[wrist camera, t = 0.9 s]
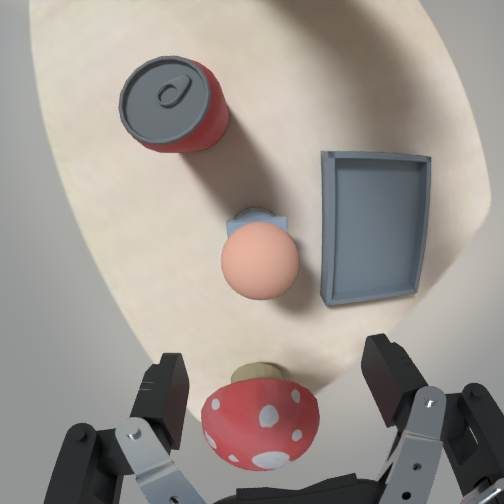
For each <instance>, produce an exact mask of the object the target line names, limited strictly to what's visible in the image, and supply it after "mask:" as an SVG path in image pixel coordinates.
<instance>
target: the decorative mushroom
mask: <svg viewBox="0 0 504 504" xmlns="http://www.w3.org/2000/svg"><path fill="white" fill-rule="evenodd" d="M201 419H202V427H203V432H204V436H205V438H206V440H207V442H208V443H209V445H210V446H211V447H212V449H213V450H214V451H215V452H216V454H217V455H219V456H220V457H221V458H222V459H223V460H225V461H227V462H228V463H230V464H232V465H234V466H236V467H239V468H242V469H246V470H251V471H268V470H274V469H278V468H281V467H284V466H286V465H287V464H290V463H292V462H294V461H295V460H296V459H298V458H299V457H300V456H301V455H302V454H303V453H304V452H306V450H307V449H308V448H309V447H310V445H311V444H312V442H313V440H314V437H315V435H316V433H317V431H318V427H319V419H320V416H319V409H318V403H317V399H316V398H315V397H314V396H313V395H312V393H311V392H310V391H309V390H308V389H306V388H304V387H302V386H300V385H298V384H296V383H294V382H291V381H286V380H284V377H283V374H282V373H281V372H280V370H279V369H277V368H275V367H274V366H272V365H268V364H264V363H252V364H246V365H244V366H242V367H240V368H238V369H237V370H236V371H235V372H234V373H233V375H232V377H231V384H229V385H227V386H225V387H222V388H220V389H218V390H217V391H216V392H214V393H213V394H212V395H211V396H209V397H208V398H207V400H206V402H205V404H204V406H203V408H202V410H201Z"/></svg>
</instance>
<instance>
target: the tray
mask: <svg viewBox="0 0 504 504" xmlns="http://www.w3.org/2000/svg"><path fill="white" fill-rule="evenodd" d="M321 168H322V269H321V293H320V295H321V297H322V299H323V301H324V303H325V305H326V306H330V305H338V304H346V303H354V302H361V301H368V300H375V299H382V298H388V297H395V296H401V295H407V294H413V293H417V291H418V286H419V281H420V275H421V270H422V264H423V257H424V251H425V243H426V235H427V227H428V216H429V204H430V187H431V157H428V156H420V155H409V154H396V153H380V152H355V151H321Z"/></svg>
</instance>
